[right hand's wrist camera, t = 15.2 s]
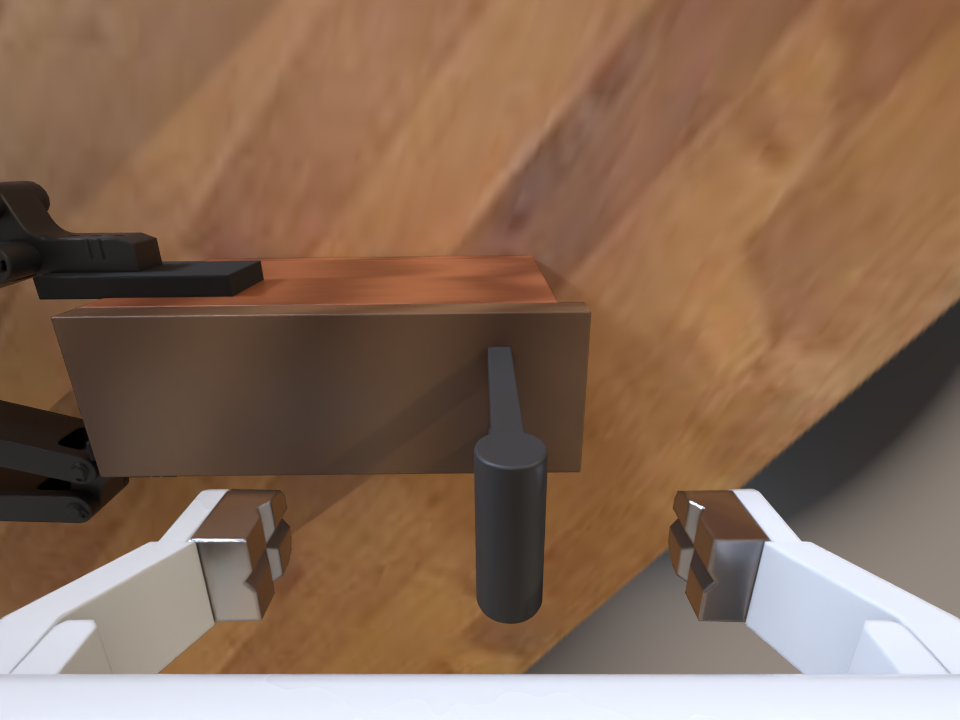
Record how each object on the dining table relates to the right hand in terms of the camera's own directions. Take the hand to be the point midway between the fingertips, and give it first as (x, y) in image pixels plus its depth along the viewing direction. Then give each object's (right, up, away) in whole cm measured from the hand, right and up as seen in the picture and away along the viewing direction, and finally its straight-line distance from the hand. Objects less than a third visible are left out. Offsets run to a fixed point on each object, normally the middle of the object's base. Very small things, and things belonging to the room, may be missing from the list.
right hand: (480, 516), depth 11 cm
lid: (-5, +2, +7) cm, 8 cm away
